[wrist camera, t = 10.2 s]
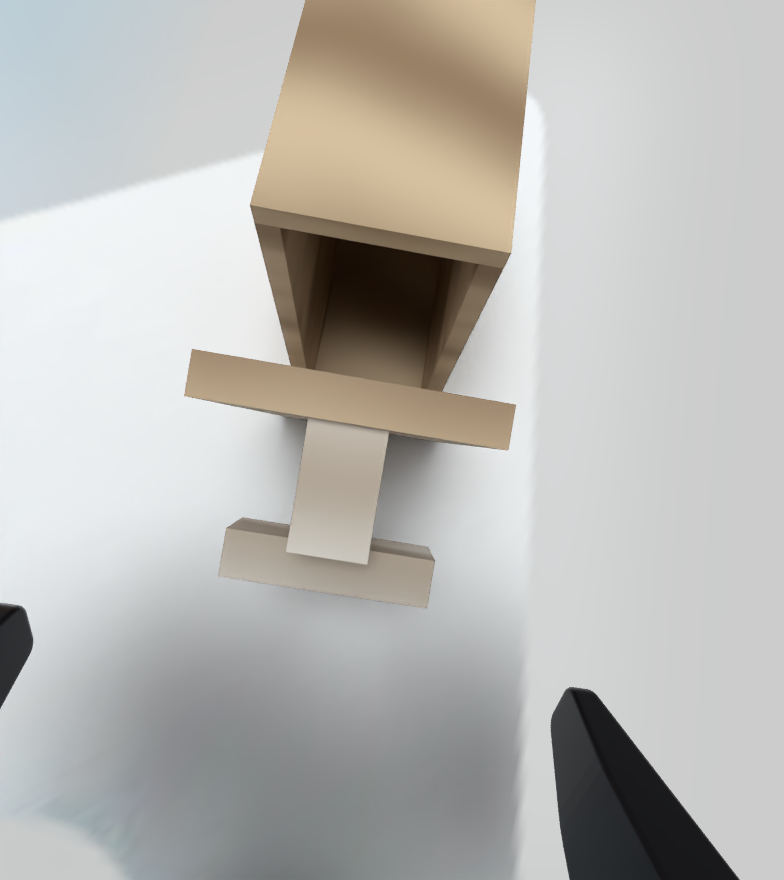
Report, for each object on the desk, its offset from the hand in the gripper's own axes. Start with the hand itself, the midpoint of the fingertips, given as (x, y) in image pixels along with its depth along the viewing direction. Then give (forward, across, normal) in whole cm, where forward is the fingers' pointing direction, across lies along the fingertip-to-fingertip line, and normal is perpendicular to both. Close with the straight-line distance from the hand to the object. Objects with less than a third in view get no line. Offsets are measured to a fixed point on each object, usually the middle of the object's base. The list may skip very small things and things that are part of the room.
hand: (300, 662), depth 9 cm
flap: (+13, 0, +5) cm, 14 cm away
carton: (+18, 0, -1) cm, 19 cm away
